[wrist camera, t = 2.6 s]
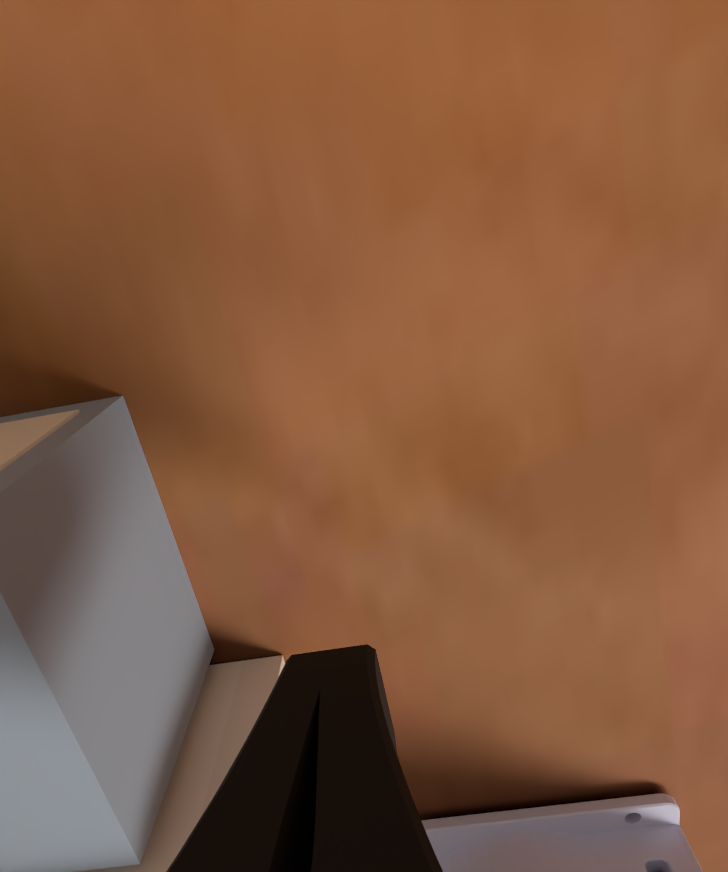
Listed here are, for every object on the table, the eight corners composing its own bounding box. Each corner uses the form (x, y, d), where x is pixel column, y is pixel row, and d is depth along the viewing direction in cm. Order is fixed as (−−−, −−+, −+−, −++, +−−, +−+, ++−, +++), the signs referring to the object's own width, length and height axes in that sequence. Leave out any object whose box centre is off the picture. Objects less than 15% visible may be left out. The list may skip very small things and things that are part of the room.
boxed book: (123, 391, 14) (-39, 516, 8) (215, 647, 17) (140, 864, 11) (-48, 421, 14) (-312, 561, 9) (71, 667, 17) (-69, 887, 12)
